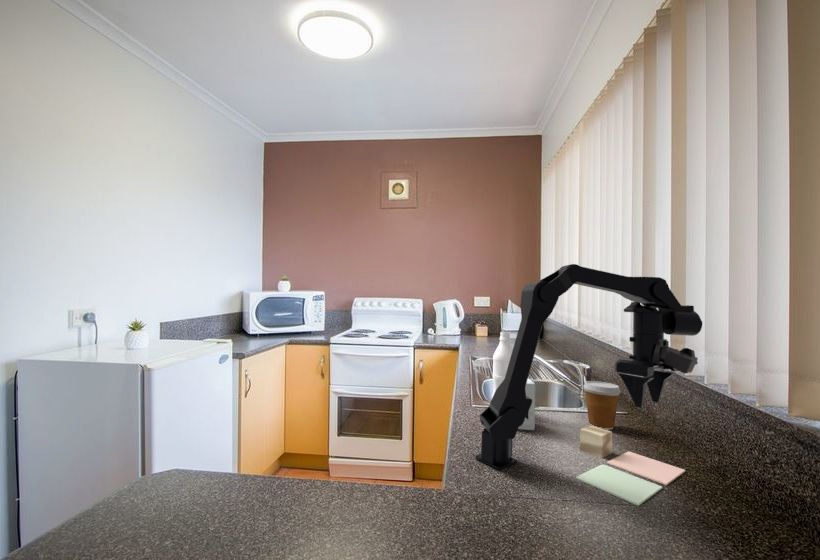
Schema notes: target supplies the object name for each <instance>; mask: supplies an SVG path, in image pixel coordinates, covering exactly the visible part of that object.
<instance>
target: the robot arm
mask: <svg viewBox="0 0 820 560" xmlns="http://www.w3.org/2000/svg"><path fill="white" fill-rule="evenodd" d="M573 285H579V286H582V287H583V286H584V287H588V288H592V289H596V290H602V291H606V292H612V293H615V294H617V295H620V296H621V297H623V298H624V299H627V300H629V301H630V304H629V305H628V306H626V307H625V308H624V309H623V312H624V313H632V315H633V317H632V320H633V321H632V323H633V326H632V333H633V334H632V336H629V342H631V343H632V354H629V356H628V357H629V358H619V359H618V360H617V361H616V362H615V365H614V368H615V369H614V370H615V371H614V372H616V373H617V375H618V376H619V377H620V378H621V380H622V382H623V383H624V386H625V387H626V389H627V392H628V393H629V396H630V397H631V400H632V401H633V403H634V406H635V407H637V408H639V409H640V408H641V409H642V408H643V404H644V400H645V393H646V387H647V388H648V392H649V395H650V397H651V400H652V402H653V403H659V402H660V399H661V396H662V394H663V391H664V388H665V385H666V383H667V380H668V379H669V378H671V377H673V376H674V375H676V372H680V373H682V374H688V373H692V372H693V370H694V368H695V366H696V365H698V364H699V363H698V357H696V353H695V351H694V350H693V349H690V348H689V347H684V348H682V349H680V350H679V349H677V348H673V347H671V346H669V342H670V341H669V340H668V339H666V338H665V336H664V334H665V335H671V336H690V337H691V336H696V335H698V334H699V333H700V332H701V331H702V327H703V320H701V316H700V315H699V313H698V312H696V311H695V306H694V305H689V304H688V305H685V304H684V305H683V304H682V305H681V303H680V302H679V300H678V298H676V295H675V294H674V293H673V292H672V290H671V289H670V286H669V284H668V283H667V280H666V279H665V278H663V277H659V276H658V277H656V276H626V275H622V274H621V275H620V274H618V273H613V272H608V271H603V270H600V269H599V270H598V269H594V268H590V267H585V266H581V265H579V264H575V263H572V264H566V265H562V266H561V267H560V268H559V269H557V270H555V271H554V272H553V273H551V274H549V275H547V276H545V277H543V278H542V279H540V280H539V281H535V282H530V283H527V284H526V285H525V286H524V287H523V288H522V291H521V296H520V316H521V319H520V324H519V327H518V331H517V333H516V337H515V341H514V344H513V347H512V349H513V351H512V354H511V358H510V361H509V365H508V369H507V372H506V376H505V379H504V380H503V382H502V383H501V384H500V386H499V387H498V388H497V389H496V391H495V393H494V396H493V398H492V397H491V400H490V402H489V406H488V407H486V408H485V409H484V411H482V412H481V413H479V415H478V417H479V420H480V424H481V425H482V426H483V430H481V446H480V447H481V449H480V450H481V451H480V454H476V455H475V457H474V458H475V460H478V461H480V462H482V463H484V464H486V465H488V466H489V467H492V468H494V469H496V470H501V469H502V470H503V469H504V468H508V467H509V466H513V465H515V464H518V459H516V458H513V440H514V439H515V438H516V435H517V433H518V430H519V429H518V428H519V427H520V426H522V424H523V423H524V421H525V418H526V419H529V418H528V412H529V409H530V407H531V405H532V399H531V398H529V397H528V396H526V391H525V387H526V383H527V379H529V375H530V371H531V368H532V366H533V365H532V364H533V361H534V357H535V354H536V351H537V348H538V343H539V340H540V336H541V333H542V328H543V326H544V324H545V322H546V321H547V319H548V318H549V317H550V316H551V314H552V313H553V311H554V309H555V307H556V305H557V304H558V303H557V302H558V300H559V299H560V298H559V297H560V296H562V295H563V294H565V293H566V292H568V291H569V289H570V288H572V286H573Z"/></svg>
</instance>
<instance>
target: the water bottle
mask: <svg viewBox="0 0 820 560" xmlns="http://www.w3.org/2000/svg"><path fill="white" fill-rule="evenodd" d="M511 340H512V339H511V332H508V331H507V332H506V331H500V336H499V344H498V346H497V347H496V349H495V351H494V353H493V355H492V361H493V362H492V381H493V391H492V395H491V399H492V398H493V396H494V393H495V391H496V389H497V388H498V387H499V386H500V384H501V383H502V382H503V380H504V377H505V376H506V372H507V369H508V365H509V361H510V358H511V354H512V351H513V347H512V345H511Z"/></svg>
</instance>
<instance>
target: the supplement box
mask: <svg viewBox="0 0 820 560" xmlns="http://www.w3.org/2000/svg"><path fill="white" fill-rule="evenodd" d="M504 379H505V377H504ZM525 391H526V396H528V397H529V398H531V399H532V405H531V407H530V409H529V412H528V418H529V419H526V418H525V421H524V423H523V424H522V426H520V427H519V428H518V430H525V431H535V427H536V426H535V422H536V421H535V419H536V417H535V415H536V410H535V409H536V383H535V382H534V381H532V380H531V379H530V378H528V379H527V383H526V387H525Z"/></svg>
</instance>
